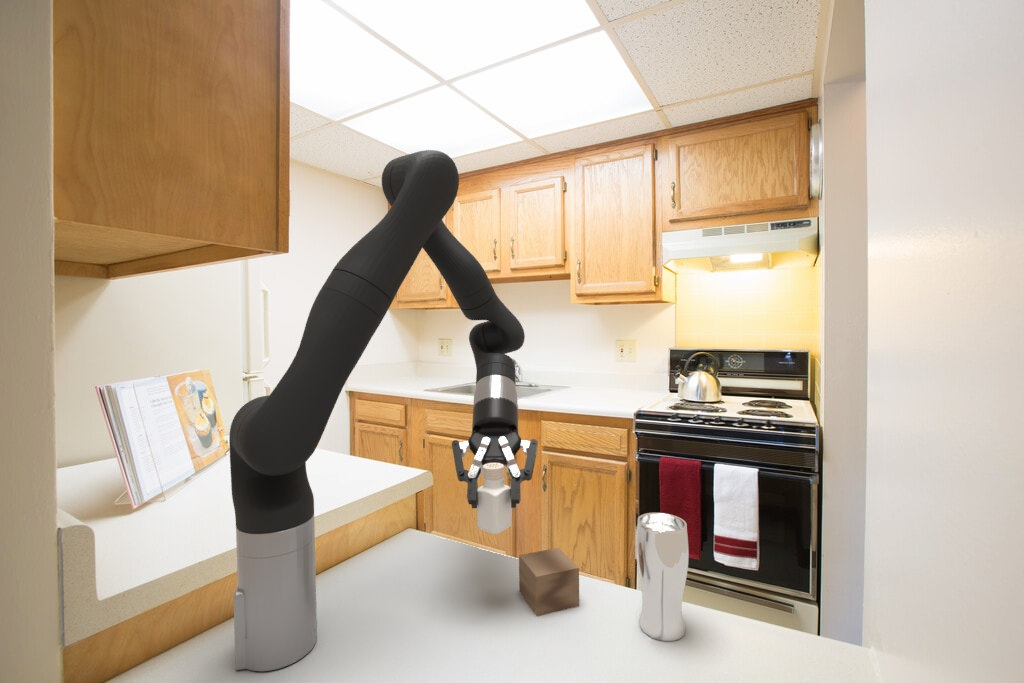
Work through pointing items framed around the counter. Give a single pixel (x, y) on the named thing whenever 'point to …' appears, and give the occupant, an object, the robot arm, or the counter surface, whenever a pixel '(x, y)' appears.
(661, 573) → the beer glass
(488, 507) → the pepper shaker
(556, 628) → the counter surface
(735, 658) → the counter surface
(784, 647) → the counter surface
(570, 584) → the walnut block
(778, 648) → the counter surface
